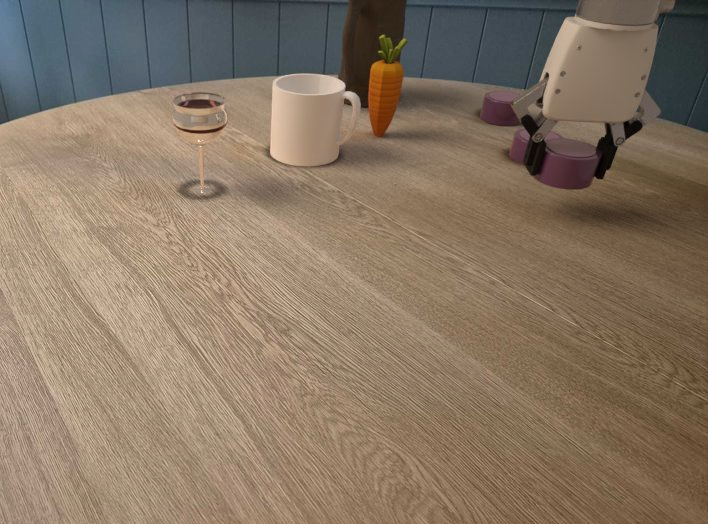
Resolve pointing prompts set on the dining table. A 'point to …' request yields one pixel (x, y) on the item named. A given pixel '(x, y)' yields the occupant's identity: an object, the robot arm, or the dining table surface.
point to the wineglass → (200, 122)
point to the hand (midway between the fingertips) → (563, 171)
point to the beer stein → (368, 41)
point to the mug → (309, 118)
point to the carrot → (385, 86)
